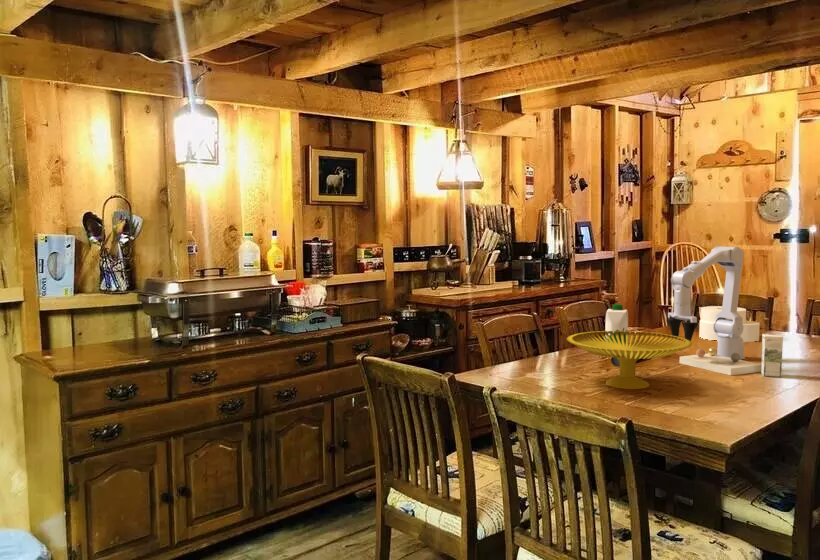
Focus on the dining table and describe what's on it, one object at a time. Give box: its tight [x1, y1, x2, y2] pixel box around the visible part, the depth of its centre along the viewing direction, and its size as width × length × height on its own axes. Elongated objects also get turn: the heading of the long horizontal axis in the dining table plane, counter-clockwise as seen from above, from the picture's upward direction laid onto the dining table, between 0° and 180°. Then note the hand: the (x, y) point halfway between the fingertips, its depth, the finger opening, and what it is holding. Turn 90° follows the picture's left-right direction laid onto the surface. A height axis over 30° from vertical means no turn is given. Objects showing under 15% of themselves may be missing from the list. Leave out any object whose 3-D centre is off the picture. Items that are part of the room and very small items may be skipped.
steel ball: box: [731, 353, 741, 362], centre depth 256 cm, size 3×3×3 cm
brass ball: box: [707, 346, 717, 356], centre depth 268 cm, size 3×3×3 cm
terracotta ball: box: [695, 348, 706, 357], centre depth 266 cm, size 3×3×3 cm
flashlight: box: [610, 357, 620, 368], centre depth 270 cm, size 5×21×5 cm, turn 135°
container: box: [698, 305, 761, 343], centre depth 319 cm, size 20×25×14 cm
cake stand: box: [566, 330, 693, 390], centre depth 234 cm, size 40×40×15 cm
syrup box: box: [760, 333, 784, 378], centre depth 244 cm, size 6×6×14 cm
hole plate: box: [679, 352, 761, 376], centre depth 259 cm, size 15×24×2 cm, turn 23°
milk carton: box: [604, 303, 629, 344], centre depth 287 cm, size 9×9×20 cm
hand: (681, 339), depth 262 cm, fingers open, 7 cm apart
